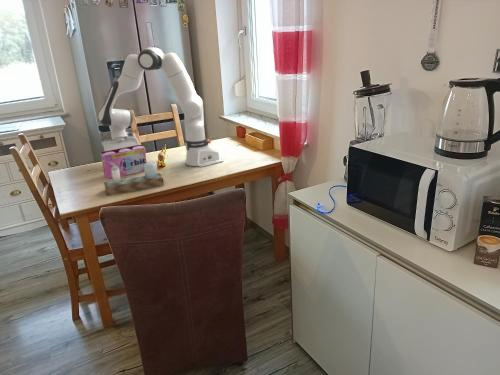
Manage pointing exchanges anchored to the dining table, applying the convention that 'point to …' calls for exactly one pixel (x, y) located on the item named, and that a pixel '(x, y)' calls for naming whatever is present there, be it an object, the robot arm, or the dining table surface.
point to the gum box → (124, 160)
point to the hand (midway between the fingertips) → (124, 158)
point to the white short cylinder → (150, 170)
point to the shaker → (116, 175)
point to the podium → (132, 184)
